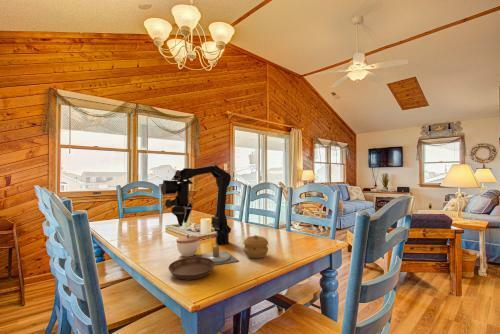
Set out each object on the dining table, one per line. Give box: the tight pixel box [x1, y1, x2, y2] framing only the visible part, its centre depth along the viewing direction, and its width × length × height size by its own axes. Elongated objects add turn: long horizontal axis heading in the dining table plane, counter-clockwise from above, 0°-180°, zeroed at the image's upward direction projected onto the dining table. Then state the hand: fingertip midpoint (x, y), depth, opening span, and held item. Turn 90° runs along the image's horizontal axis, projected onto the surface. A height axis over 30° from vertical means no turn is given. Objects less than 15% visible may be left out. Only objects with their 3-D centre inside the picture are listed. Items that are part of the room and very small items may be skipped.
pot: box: [242, 234, 269, 259], centre depth 123 cm, size 12×12×10 cm
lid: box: [202, 244, 230, 263], centre depth 120 cm, size 13×13×5 cm
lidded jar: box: [176, 234, 200, 257], centre depth 125 cm, size 11×11×9 cm
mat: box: [193, 250, 240, 267], centre depth 120 cm, size 16×16×1 cm
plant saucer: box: [168, 256, 216, 281], centre depth 103 cm, size 18×18×3 cm
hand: (183, 224), depth 130 cm, fingers open, 9 cm apart
